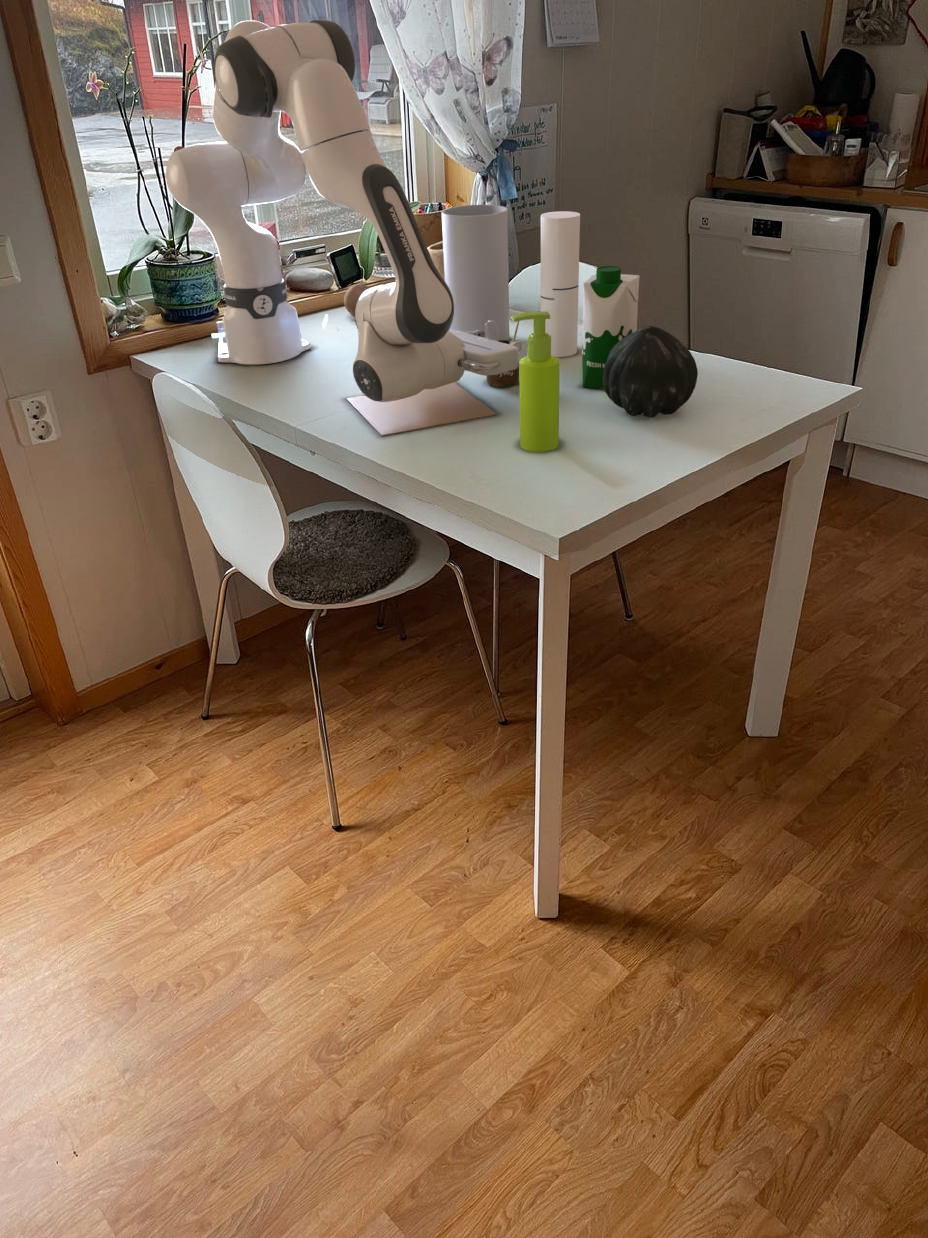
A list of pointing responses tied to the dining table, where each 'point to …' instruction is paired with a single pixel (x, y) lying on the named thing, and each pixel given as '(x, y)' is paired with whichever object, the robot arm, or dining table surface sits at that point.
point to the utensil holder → (506, 377)
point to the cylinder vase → (477, 267)
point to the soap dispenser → (538, 388)
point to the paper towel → (421, 410)
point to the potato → (353, 297)
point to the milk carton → (606, 318)
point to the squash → (650, 373)
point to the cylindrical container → (560, 279)
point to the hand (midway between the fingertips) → (500, 339)
